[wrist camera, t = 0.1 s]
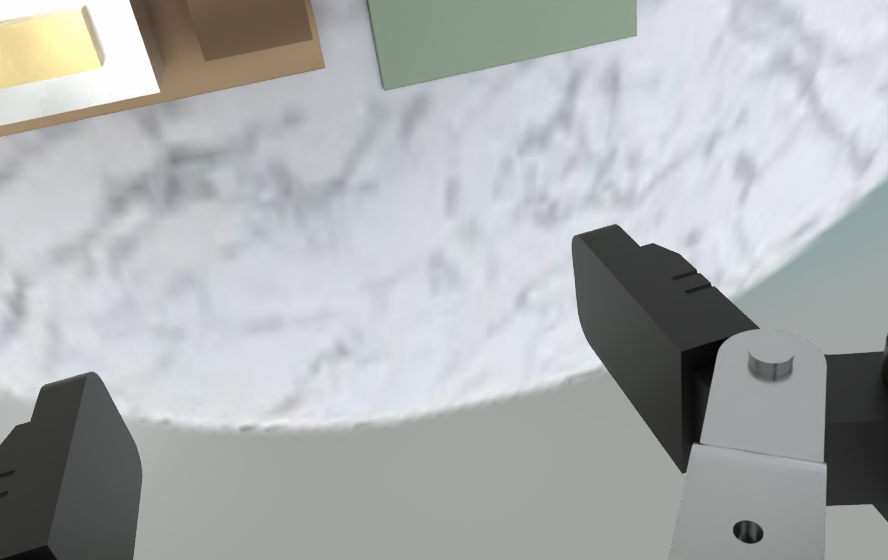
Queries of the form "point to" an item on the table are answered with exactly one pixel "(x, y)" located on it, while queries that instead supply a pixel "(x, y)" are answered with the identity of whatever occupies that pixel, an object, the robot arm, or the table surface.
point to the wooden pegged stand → (215, 51)
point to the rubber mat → (486, 33)
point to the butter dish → (74, 55)
